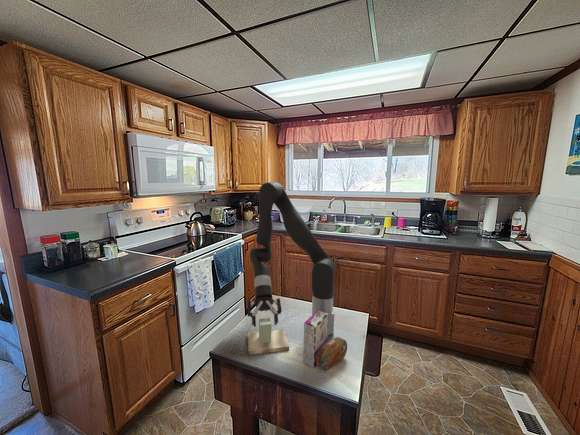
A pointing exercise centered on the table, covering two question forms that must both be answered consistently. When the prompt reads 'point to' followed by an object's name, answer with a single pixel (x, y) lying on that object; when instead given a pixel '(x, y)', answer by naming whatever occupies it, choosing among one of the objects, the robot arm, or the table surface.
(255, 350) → the birch board
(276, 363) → the table surface
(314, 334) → the candy bar box
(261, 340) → the sage block
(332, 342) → the tin
